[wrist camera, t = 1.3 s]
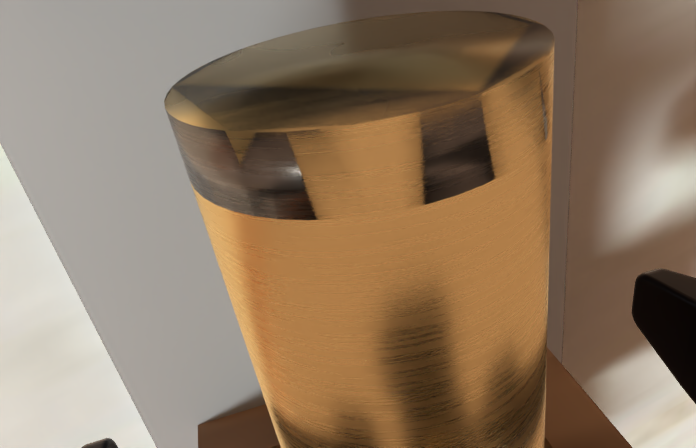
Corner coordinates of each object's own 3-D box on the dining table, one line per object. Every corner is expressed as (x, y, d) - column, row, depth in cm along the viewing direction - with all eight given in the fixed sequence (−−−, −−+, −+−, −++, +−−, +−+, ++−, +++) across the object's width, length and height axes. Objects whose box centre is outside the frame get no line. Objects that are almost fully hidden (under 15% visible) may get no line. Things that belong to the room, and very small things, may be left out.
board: (546, 428, 17) (558, 444, 16) (215, 541, 15) (215, 563, 15) (574, -569, 7) (605, -608, 7) (-303, -500, 6) (-354, -544, 5)
